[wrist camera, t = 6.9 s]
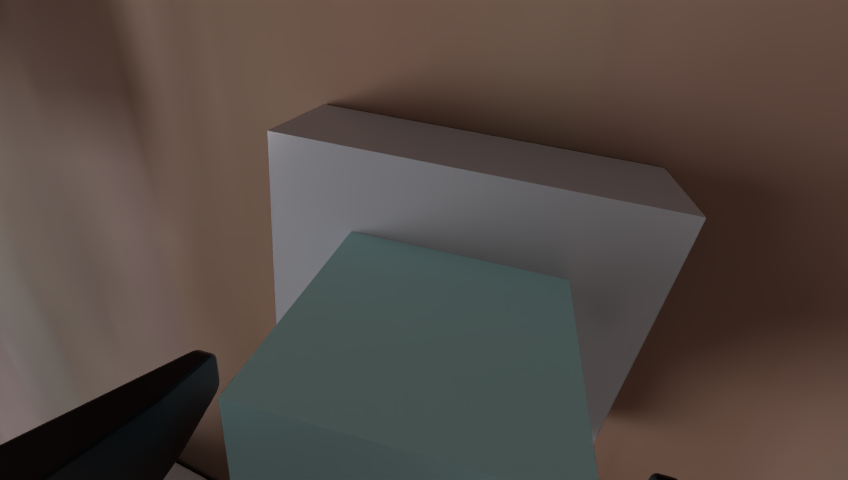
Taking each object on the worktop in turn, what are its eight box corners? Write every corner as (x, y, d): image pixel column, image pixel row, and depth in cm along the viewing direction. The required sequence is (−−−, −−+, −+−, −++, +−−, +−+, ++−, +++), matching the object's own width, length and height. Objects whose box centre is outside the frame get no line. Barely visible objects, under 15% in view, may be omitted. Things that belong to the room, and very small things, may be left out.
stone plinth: (561, 410, 15) (568, 492, 13) (319, 348, 16) (280, 411, 14) (664, 167, 11) (706, 217, 8) (324, 104, 12) (267, 130, 9)
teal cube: (515, 429, 12) (507, 667, 8) (342, 383, 13) (244, 579, 8) (569, 279, 10) (602, 506, 5) (351, 231, 10) (218, 397, 6)
